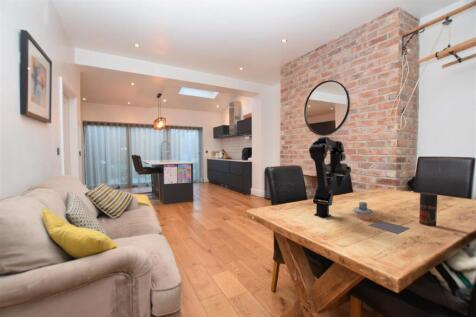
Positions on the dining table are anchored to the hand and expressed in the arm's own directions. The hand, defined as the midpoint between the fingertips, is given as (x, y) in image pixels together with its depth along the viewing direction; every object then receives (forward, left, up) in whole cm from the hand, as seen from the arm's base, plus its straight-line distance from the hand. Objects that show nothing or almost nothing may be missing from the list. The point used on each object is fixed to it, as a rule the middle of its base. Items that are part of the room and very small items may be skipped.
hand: (334, 187), depth 129 cm
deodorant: (+10, -41, -13) cm, 44 cm away
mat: (-9, -33, -12) cm, 36 cm away
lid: (-6, -20, -8) cm, 23 cm away
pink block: (-6, -20, -12) cm, 24 cm away
